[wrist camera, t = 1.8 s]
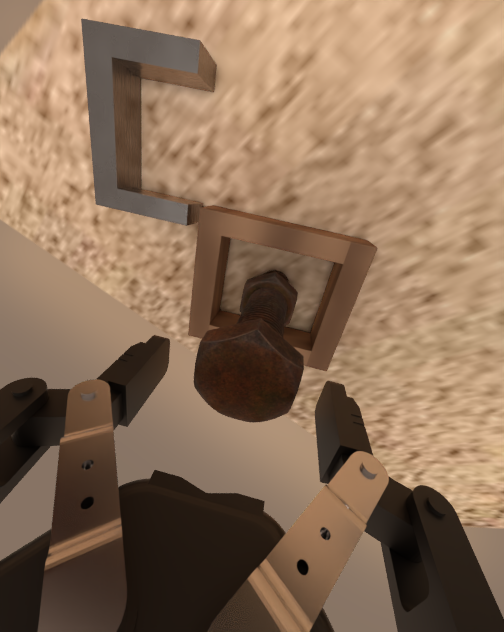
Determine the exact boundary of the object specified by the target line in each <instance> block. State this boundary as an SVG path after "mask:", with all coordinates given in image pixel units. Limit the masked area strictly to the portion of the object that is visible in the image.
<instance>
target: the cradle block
mask: <svg viewBox="0 0 504 632" xmlns="http://www.w3.org/2000/svg"><path fill="white" fill-rule="evenodd" d="M81 21H82V34H83V46H84V59H85V72H86V85H87V97H88V110H89V123H90V136H91V148H92V161H93V174H94V187H95V199H96V205H101V206H105V207H109V208H113V209H118V210H122V211H126V212H131V213H135V214H139V215H143V216H148V217H152V218H156V219H161V220H165V221H169V222H173V223H178V224H182V225H186V226H187V225H190V224H194V223H197V222H199V215H200V207H203V203H200V202H196V201H192V200H187V199H183V198H178V197H174V196H170V195H165V194H161V193H156V192H152V191H148V190H143V189H141V78H144V79H150V80H155V81H160V82H165V83H170V84H175V85H180V86H185V87H190V88H195V89H200V90H205V91H210V92H214V85H215V74H216V64H215V62H214V61H213V59H212V58H211V56H210V55H209V53H208V51H207V50H206V48H205V47H204V45H203V44H202V42H201V41H200V40H195V39H190V38H184V37H179V36H174V35H168V34H163V33H157V32H152V31H146V30H141V29H136V28H130V27H125V26H119V25H114V24H108V23H103V22H97V21H92V20H87V19H81Z"/></svg>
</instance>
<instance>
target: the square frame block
mask: <svg viewBox="0 0 504 632" xmlns="http://www.w3.org/2000/svg"><path fill="white" fill-rule="evenodd" d="M230 238H234V239H238V240H242V241H246V242H251V243H255V244H259V245H264V246H268V247H272V248H276V249H281V250H285V251H289V252H293V253H298V254H302V255H306V256H311V257H315V258H319V259H323V260H328V261H332V262H335V263H334V266H333V269H332V272H331V275H330V278H329V281H328V284H327V286H326V289H325V292H324V295H323V298H322V301H321V304H320V307H319V309H318V312H317V315H316V318H315V321H314V324H313V327H312V330H311V333H307V332H303V331H300V330H296V329H292V328H288V327H284V333H283V334H284V335H283V338H284V339H285V340H286V341H287V342H288V343H289V344H291V345H292V346H293V347H294V348H295V349H296V350H297V351H299V352H300V353H301V354H302V355H303V356H304V366H308V367H312V368H316V369H320V370H323V371H327V369H328V367H329V364H330V362H331V359H332V357H333V354H334V352H335V350H336V347H337V345H338V342H339V340H340V338H341V335H342V333H343V330H344V328H345V325H346V323H347V321H348V318H349V316H350V313H351V311H352V309H353V306H354V304H355V301H356V299H357V296H358V294H359V292H360V289H361V287H362V284H363V282H364V280H365V277H366V275H367V272H368V270H369V268H370V265H371V263H372V260H373V258H374V255H375V253H376V251H377V247H376V246H374V245H373V244H371V243H370V242H369V241H367V240H364V239H359V238H355V237H350V236H346V235H342V234H337V233H333V232H328V231H324V230H320V229H315V228H311V227H306V226H302V225H298V224H293V223H289V222H284V221H280V220H275V219H271V218H267V217H262V216H258V215H253V214H249V213H245V212H240V211H236V210H231V209H227V208H223V207H218V206H214V205H213V206H207V207H200V215H199V225H198V236H197V247H196V257H195V268H194V279H193V290H192V300H191V311H190V322H189V332H188V335H190V336H194V337H198V338H203V337H204V335H205V334H206V332H207V331H208V330H212V329H217V328H221V327H225V326H230V325H234V324H237V322H238V320H239V318H240V315H236V314H233V313H229V312H225V311H221V310H220V304H221V298H222V291H223V284H224V278H225V271H226V264H227V258H228V251H229V245H230Z"/></svg>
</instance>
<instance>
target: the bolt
mask: <svg viewBox="0 0 504 632" xmlns="http://www.w3.org/2000/svg"><path fill="white" fill-rule="evenodd" d="M276 272H277V271H269V272H267V273H265V274H263V275H260V276H257V277H254V278H251V279H249V280H247V282H246V284H245V287H244V291H243V295H242V300H241V306H240V312H241V316H240V318H239V320H238V322H237V324H234V325H230V326H225V327H221V328H217V329H212V330H208V331H207V332H206V334H205V335H204V337H203V338H202V340H201V341H200V345H199V349H198V353H197V358H196V363H195V372H194V386H195V388H196V390H197V391H198V392H199V394H200V395H201V397H202V398H203V399H204V400H205V401H206V402H207V403H208V405H210V406H211V407H212V408H213V409H215V410H216V411H217V412H219V413H221V414H223V415H225V416H228V417H231V418H234V419H238V420H242V421H246V422H262V421H268V420H271V419H275V418H277V417H280V416H282V415H284V414H286V413H288V412H289V410H290V409H291V406H292V404H293V401H294V399H295V396H296V394H297V391H298V388H299V385H300V381H301V378H302V374H303V370H304V356H303V355H302V354H301V353H300V352H299V351H297V350H296V349H295V348H294V347H293V346H292V345H291V344H289V343H288V342H287V341H286V340H285V339H284V338H283V335H284V334H283V333H284V326H285V325H287V324H289V323H290V320H291V318H292V314H293V311H294V308H295V304H296V300H297V291H296V290H295V289H294V288H293V287H292V286H291V285H290V284H289V282H288V279H287V277H286V276H285V275H284V274H283V273H281V272H277V273H276Z"/></svg>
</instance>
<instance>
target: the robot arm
mask: <svg viewBox="0 0 504 632" xmlns="http://www.w3.org/2000/svg"><path fill="white" fill-rule="evenodd" d="M169 348H170V340H169V339H168V338H164V337H160V336H156V335H154V336H152V337H151V338H150V339H149V340H148V341H147V342H146V343H143V342H140V343H138V344H136V345H133V346H131V347H130V348H129V349H128V350H127V351H126V352H125V353H124V355H122V356H120V357H119V359H118V360H116V361H115V362H114V363H113V364H112V365H111V366H110V367H109V368H108V369H107V370H106V371H104V372H103V374H101V375H100V376H99V377H98V378H97V379H95V380H87V381H83V382H81V383H79V384H77V385H75V386H74V387H73V388H72V389H47V385H46V382H45V381H44V380H42V379H39V378H24V379H20V380H17V381H14V382H12V383H10V384H8V385H6V386H5V387H4V388H2V389H1V390H0V503H1V502H2V501H3V500H4V499H5V497H6V496H7V495H8V494H9V493H10V492H11V491H12V489H13V488H14V487H15V486H16V485H17V484H18V482H19V481H20V480H21V479H22V478H23V477H24V476H25V475H26V474H27V472H28V471H29V470H30V469H31V468H32V467H33V466H34V465H35V463H36V462H37V461H38V460H39V459H40V457H42V455H43V454H44V453H45V452H46V451H47V450H48V449H49V448H50V446H56V445H60V447H59V457H58V467H57V477H56V487H55V497H54V507H53V517H52V528H51V529H50V530H49V531H47V532H45V533H44V534H42V535H41V536H39V537H37V538H36V539H34V540H33V541H31V542H30V543H28V544H26V545H25V546H23V547H22V548H20V549H18V550H17V551H15V552H14V553H12V554H10V555H9V556H7V557H6V558H4V559H2V560H1V561H0V632H334V630H333V628H332V626H331V623H330V621H329V619H328V617H327V615H326V613H325V611H324V609H323V606H324V604H325V602H326V600H327V598H328V596H329V595H330V593H331V591H332V589H333V587H334V585H335V583H336V582H337V580H338V578H339V576H340V574H341V573H342V570H343V569H344V567H345V565H346V563H347V562H348V560H349V558H350V556H351V554H352V552H353V551H354V549H355V547H356V545H357V543H358V542H359V540H360V538H361V536H362V534H363V532H364V531H365V532H366V533H368V534H369V535H371V536H372V537H374V538H375V539H377V540H378V541H380V542H381V546H382V552H383V557H384V562H385V567H386V573H387V578H388V583H389V588H390V593H391V599H392V604H393V609H394V614H395V619H396V625H397V629H398V632H504V619H503V617H502V614H501V612H500V610H499V607H498V605H497V603H496V601H495V599H494V596H493V594H492V592H491V590H490V587H489V585H488V583H487V581H486V578H485V576H484V574H483V572H482V570H481V567H480V565H479V563H478V560H477V558H476V556H475V554H474V552H473V549H472V547H471V545H470V543H469V540H468V538H467V536H466V534H465V531H464V529H463V527H462V525H461V522H460V520H459V518H458V516H457V514H456V512H455V510H454V508H453V507H452V505H451V504H450V503H449V502H448V500H447V499H446V498H445V497H444V496H442V495H441V494H440V493H439V492H437V491H436V490H434V489H432V488H430V487H428V486H423V485H420V486H417V487H416V488H415V489H414V490H413V491H412V490H411V489H409V488H407V487H405V486H404V485H402V484H400V483H398V482H397V481H395V480H393V479H392V478H390V477H389V476H388V473H387V471H386V469H385V467H384V466H383V464H382V463H381V462H380V461H379V460H378V459H377V458H375V457H374V456H373V453H372V450H371V446H370V443H369V439H368V436H367V432H366V429H365V427H364V422H363V419H362V415H361V412H360V408H359V406H358V405H357V404H356V402H355V401H354V399H353V398H350V397H347V395H346V391H345V387H344V385H342V384H339V383H335V382H331V381H327V382H326V384H325V386H324V388H323V391H322V393H321V395H320V397H319V400H318V402H317V405H316V409H315V423H316V436H317V448H318V460H319V473H320V482H322V483H327V484H328V485H325V486H324V487H323V488H322V489H321V491H320V492H319V493H318V494H317V496H316V497H315V498H314V499H313V501H312V502H311V503H310V504H309V506H308V507H307V508H306V509H305V510H304V512H303V513H302V514H301V515H300V517H299V518H298V519H297V520H296V521H295V523H294V524H293V525H292V526H291V528H290V529H289V530H288V531H287V533H285V531H284V530H283V529H282V528H281V526H280V525H279V524H278V523H277V522H276V521H275V520H274V519H273V518H272V517H271V516H269V515H268V514H267V513H265V512H264V511H263V510H264V501H262V500H258V499H254V498H251V497H248V496H244V495H241V494H237V493H220V494H219V493H212V494H211V493H205V492H204V491H202V490H200V489H199V488H197V487H196V486H194V485H192V484H191V483H189V482H188V481H186V480H184V479H183V478H181V477H178V476H175V475H171V474H167V473H164V472H160V471H157V470H154V472H153V474H152V476H151V478H150V479H142V480H136V481H133V482H129V483H126V484H124V485H122V486H120V487H118V477H117V466H116V453H115V441H114V429H115V428H116V427H117V426H118V424H119V425H123V426H126V427H128V425H129V424H130V422H131V421H132V419H133V418H134V417H135V415H136V414H137V413H138V411H139V410H140V408H141V407H142V406H143V404H144V403H145V401H146V400H147V399H148V397H149V396H150V395H151V393H152V392H153V390H154V389H155V387H156V386H157V385H158V383H159V382H160V381H161V379H162V378H163V376H164V375H165V373H166V371H167V368H168V363H169Z"/></svg>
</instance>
